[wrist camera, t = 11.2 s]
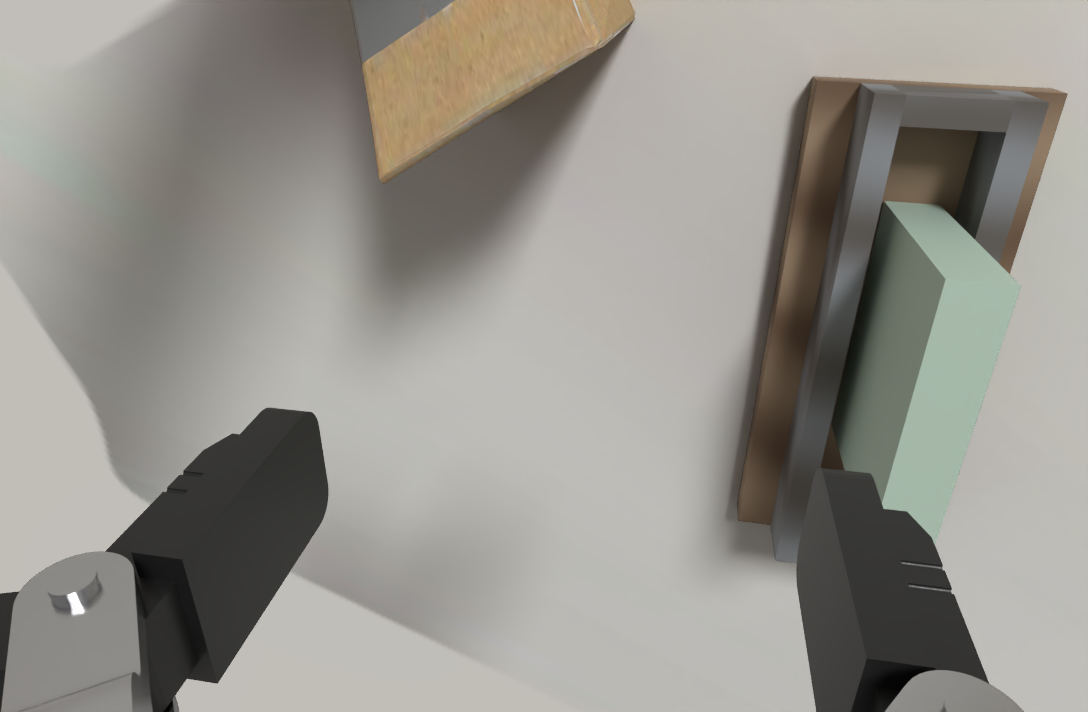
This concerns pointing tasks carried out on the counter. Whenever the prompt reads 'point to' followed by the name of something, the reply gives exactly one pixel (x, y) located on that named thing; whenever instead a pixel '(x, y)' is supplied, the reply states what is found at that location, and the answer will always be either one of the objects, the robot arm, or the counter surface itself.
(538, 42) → the sandwich container
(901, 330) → the door panel
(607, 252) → the counter surface
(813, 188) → the door track
